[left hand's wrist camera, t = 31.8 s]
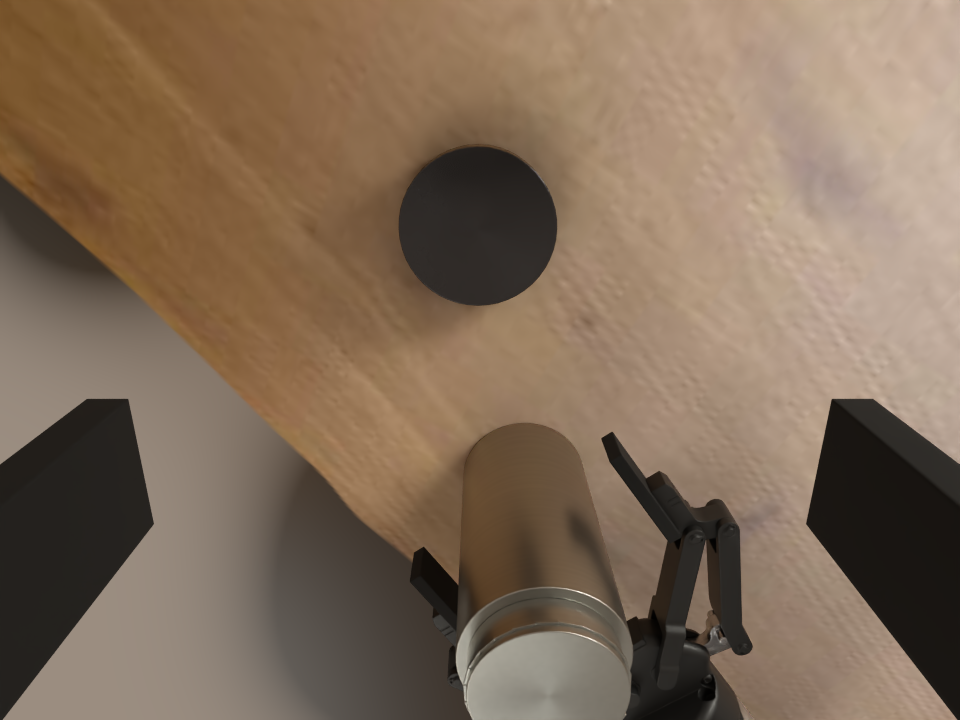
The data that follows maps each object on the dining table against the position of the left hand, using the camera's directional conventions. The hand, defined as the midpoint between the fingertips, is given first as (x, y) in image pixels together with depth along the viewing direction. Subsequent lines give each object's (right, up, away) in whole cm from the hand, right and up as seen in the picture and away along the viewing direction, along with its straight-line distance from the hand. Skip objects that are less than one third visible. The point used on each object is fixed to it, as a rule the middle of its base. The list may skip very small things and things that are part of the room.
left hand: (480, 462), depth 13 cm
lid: (0, +9, +25) cm, 27 cm away
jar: (+3, -6, +33) cm, 33 cm away
